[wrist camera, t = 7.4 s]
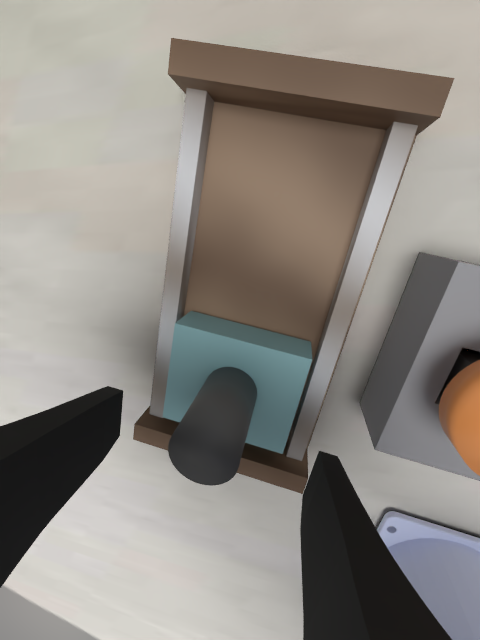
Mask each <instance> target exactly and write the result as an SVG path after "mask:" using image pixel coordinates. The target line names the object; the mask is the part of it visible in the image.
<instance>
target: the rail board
mask: <svg viewBox="0 0 480 640" xmlns="http://www.w3.org/2000/svg"><path fill="white" fill-rule="evenodd" d="M168 75H169V76H170V77H171V78H172V79H173V80H174V81H175V82H176V84H177V85H178V86H179V87H180V88H181V89H182V90H183V91H184V93H185V94H186V98H185V106H184V115H183V124H182V133H181V141H180V150H179V159H178V168H177V176H176V185H175V194H174V203H173V212H172V220H171V229H170V238H169V247H168V255H167V264H166V273H165V282H164V291H163V299H162V308H161V317H160V326H159V334H158V343H157V352H156V361H155V370H154V378H153V387H152V396H151V405H150V406H149V408H148V409H147V410H146V411H145V412H144V414H143V415H142V416H141V417H140V418H139V419H138V421H137V422H136V423H135V426H134V437H133V439H134V440H137V441H140V442H143V443H146V444H149V445H152V446H155V447H159V448H162V449H165V450H168V444H169V440H170V438H171V436H172V435H173V433H174V431H175V430H176V428H177V426H178V425H179V423H180V422H177V421H173V420H170V419H167V418H164V417H163V410H164V402H165V394H166V387H167V379H168V372H169V364H170V357H171V349H172V342H173V334H174V327H175V323H176V322H177V321H178V320H180V319H181V318H182V317H184V316H185V315H186V314H187V313H189V312H190V311H194V312H198V313H202V314H206V315H209V316H213V317H217V318H221V319H225V320H229V321H233V322H237V323H240V324H244V325H248V326H252V327H256V328H260V329H264V330H268V331H271V332H275V333H279V334H283V335H287V336H291V337H295V338H298V339H302V340H306V341H310V342H311V348H312V363H311V366H310V369H309V372H308V375H307V378H306V382H305V385H304V388H303V391H302V394H301V397H300V401H299V404H298V407H297V410H296V413H295V417H294V420H293V423H292V426H291V429H290V432H289V436H288V439H287V442H286V445H285V448H284V451H283V454H281V453H277V452H274V451H271V450H268V449H264V448H261V447H258V446H255V445H251V444H248V443H245V445H244V449H243V453H242V457H241V460H240V464H239V468H238V471H237V472H236V473H239V474H242V475H246V476H249V477H252V478H255V479H258V480H261V481H264V482H267V483H270V484H274V485H277V486H280V487H283V488H286V489H289V490H292V491H295V492H298V493H301V494H303V491H304V488H305V485H306V483H307V480H308V459H307V448H308V446H309V443H310V440H311V437H312V434H313V431H314V428H315V425H316V423H317V420H318V417H319V414H320V411H321V408H322V405H323V403H324V400H325V397H326V394H327V391H328V388H329V385H330V382H331V380H332V377H333V374H334V371H335V368H336V365H337V362H338V359H339V357H340V354H341V351H342V348H343V345H344V342H345V339H346V337H347V334H348V331H349V328H350V325H351V322H352V319H353V316H354V314H355V311H356V308H357V305H358V302H359V299H360V296H361V294H362V291H363V288H364V285H365V282H366V279H367V276H368V273H369V271H370V268H371V265H372V262H373V259H374V256H375V253H376V251H377V248H378V245H379V242H380V239H381V236H382V233H383V230H384V228H385V225H386V222H387V219H388V216H389V213H390V210H391V207H392V205H393V202H394V199H395V196H396V193H397V190H398V187H399V185H400V182H401V179H402V176H403V173H404V170H405V167H406V164H407V162H408V159H409V156H410V153H411V150H412V147H413V144H414V142H415V139H416V136H417V135H418V134H419V133H420V132H422V131H423V130H424V129H425V128H427V127H428V126H429V125H430V124H432V123H433V122H434V121H436V120H437V119H438V118H439V117H440V116H441V113H442V110H443V108H444V105H445V102H446V99H447V97H448V94H449V91H450V88H451V86H452V83H453V80H454V78H449V77H442V76H435V75H428V74H420V73H413V72H406V71H399V70H392V69H385V68H378V67H371V66H364V65H357V64H350V63H343V62H336V61H329V60H322V59H315V58H308V57H301V56H294V55H287V54H280V53H273V52H266V51H259V50H252V49H245V48H238V47H231V46H224V45H217V44H210V43H203V42H196V41H189V40H182V39H175V38H171V47H170V58H169V68H168Z"/></svg>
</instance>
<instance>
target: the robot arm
mask: <svg viewBox="0 0 480 640" xmlns="http://www.w3.org/2000/svg"><path fill="white" fill-rule="evenodd" d="M122 399H123V391H122V390H119V389H116V388H112V387H109V386H107V387H104V388H102V389H99V390H96V391H94V392H91V393H89V394H86V395H84V396H81V397H79V398H76V399H74V400H71V401H69V402H66V403H64V404H61V405H59V406H56V407H54V408H51V409H49V410H46V411H43V412H40V413H38V414H35V415H32V416H29V417H26V418H24V419H21V420H18V421H15V422H12V423H9V424H6V425H3V426H0V587H1V586H2V585H3V584H4V582H5V581H6V579H7V578H8V577H9V575H10V574H11V572H12V571H13V569H14V568H15V567H16V565H17V564H18V563H19V561H20V560H21V559H22V557H23V556H24V554H25V553H26V552H27V550H28V549H29V548H30V546H31V545H32V544H33V542H34V541H35V540H36V538H37V537H38V536H39V534H40V533H41V532H42V530H43V529H44V528H45V527H46V526H47V524H48V523H49V522H50V521H51V519H52V518H53V517H54V516H55V515H56V514H57V513H58V511H59V510H60V509H61V508H62V507H63V506H64V505H65V503H66V502H67V501H68V500H69V499H70V498H71V497H72V495H73V494H74V493H75V492H76V491H77V490H78V489H79V487H80V486H81V485H82V484H83V483H84V482H85V481H86V479H87V478H88V477H89V476H90V475H91V474H92V473H93V471H94V470H95V469H96V468H97V467H98V466H99V464H100V463H101V462H102V461H103V459H104V458H105V457H106V455H107V454H108V452H109V451H110V449H111V448H112V446H113V445H114V443H115V442H116V440H117V439H118V437H119V436H120V425H121V412H122ZM389 526H391V527H389ZM301 560H302V586H303V613H304V638H303V640H480V538H477V537H474V536H471V535H468V534H465V533H461V532H458V531H455V530H452V529H449V528H446V527H443V526H439V525H436V524H433V523H430V522H427V521H424V520H420V519H417V518H414V517H411V516H408V515H405V514H402V513H398V512H395V511H390V512H387V513H386V514H385V515H384V517H383V519H382V521H381V523H380V525H379V527H378V529H377V530H376V528H375V526H374V525H373V523H372V521H371V519H370V517H369V516H368V514H367V512H366V510H365V508H364V507H363V505H362V503H361V501H360V499H359V497H358V495H357V494H356V492H355V490H354V488H353V486H352V484H351V482H350V480H349V478H348V476H347V474H346V472H345V470H344V468H343V466H342V464H341V462H340V460H339V458H338V457H337V456H334V455H331V454H328V453H324V452H321V451H319V453H318V455H317V458H316V461H315V464H314V466H313V469H312V472H311V475H310V477H309V480H308V483H307V486H306V488H305V491H304V494H303V500H302V513H301Z"/></svg>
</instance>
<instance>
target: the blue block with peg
mask: <svg viewBox="0 0 480 640" xmlns="http://www.w3.org/2000/svg"><path fill="white" fill-rule="evenodd" d="M311 363H312V348H311V342H310V341H306V340H302V339H298V338H295V337H291V336H287V335H283V334H279V333H275V332H271V331H268V330H264V329H260V328H256V327H252V326H248V325H244V324H240V323H237V322H233V321H229V320H225V319H221V318H217V317H213V316H209V315H206V314H202V313H198V312H194V311H190V312H189V313H187V314H186V315H185V316H184V317H182V318H181V319H180V320H178V321H177V322H176V323H175V327H174V334H173V342H172V349H171V357H170V364H169V372H168V379H167V387H166V394H165V402H164V410H163V417H164V418H167V419H170V420H173V421H177V422H180V423H179V425H178V426H177V428H176V430H175V431H174V433H173V435H172V436H171V438H170V440H169V444H168V452H169V456H170V459H171V461H172V463H173V465H174V466H175V468H176V469H177V470H178V471H179V472H180V473H181V474H182V475H183V476H185V477H186V478H188V479H190V480H192V481H194V482H196V483H199V484H203V485H219V484H223V483H225V482H227V481H229V480H230V479H232V478H233V477H234V475H235V474H236V472H237V471H238V468H239V464H240V460H241V457H242V453H243V449H244V445H245V443H248V444H251V445H255V446H258V447H261V448H264V449H268V450H271V451H274V452H277V453H281V454H283V451H284V448H285V445H286V442H287V439H288V436H289V432H290V429H291V426H292V423H293V420H294V417H295V413H296V410H297V407H298V404H299V401H300V397H301V394H302V391H303V388H304V385H305V382H306V378H307V375H308V372H309V369H310V366H311Z"/></svg>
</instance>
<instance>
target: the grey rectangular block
mask: <svg viewBox="0 0 480 640" xmlns="http://www.w3.org/2000/svg"><path fill="white" fill-rule="evenodd" d="M462 347H463V348H467V349H470V350H469V352H472V353H476V354H480V265H477V264H472V263H467V262H463V261H458V260H453V259H449V258H444V257H439V256H434V255H430V254H425V253H419V255H418V258H417V260H416V263H415V265H414V268H413V270H412V273H411V275H410V278H409V280H408V283H407V285H406V288H405V290H404V293H403V295H402V298H401V300H400V303H399V305H398V308H397V310H396V313H395V315H394V318H393V321H392V323H391V326H390V328H389V331H388V333H387V336H386V338H385V341H384V343H383V346H382V348H381V351H380V353H379V356H378V358H377V361H376V363H375V366H374V368H373V371H372V373H371V376H370V378H369V381H368V383H367V386H366V388H365V391H364V393H363V396H362V398H361V401H360V406H361V409H362V412H363V415H364V418H365V421H366V424H367V427H368V431H369V434H370V437H371V440H372V443H373V446H374V449H375V450H377V451H381V452H384V453H387V454H391V455H394V456H397V457H401V458H404V459H408V460H411V461H414V462H418V463H421V464H425V465H428V466H431V467H435V468H438V469H442V470H445V471H448V472H452V473H455V474H459V475H462V476H465V477H469V478H472V479H475V480H479V481H480V476H479V475H477V474H476V473H475V472H474V471H473V470H471V469H470V468H469V466H468V465H467V464H466V463H465V462H464V460H463V459H462V457H461V456H460V454H459V453H458V451H457V450H456V448H455V447H454V446H453V444H452V443H451V441H450V440H449V438H448V437H447V435H446V434H445V432H444V431H443V429H442V426H441V424H440V420H439V403H440V399H441V396H442V394H443V392H444V390H445V388H446V386H445V385H444V383H445V381H446V379H447V377H448V375H449V373H450V371H451V369H452V367H453V365H454V363H455V361H456V359H457V357H458V355H459V353H460V351H461V349H462Z"/></svg>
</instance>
